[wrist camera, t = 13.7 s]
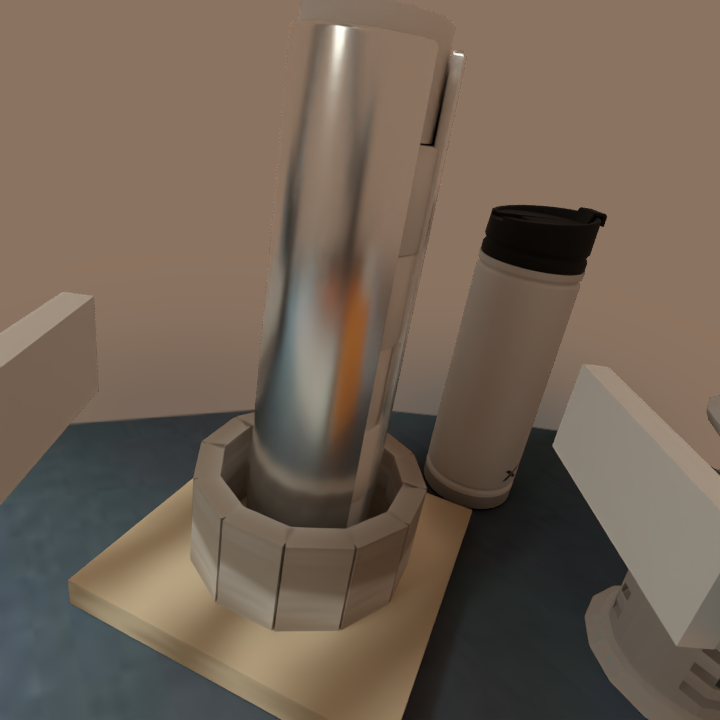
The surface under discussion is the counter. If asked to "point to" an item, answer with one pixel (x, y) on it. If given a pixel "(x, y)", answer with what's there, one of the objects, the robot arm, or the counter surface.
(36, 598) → the counter surface
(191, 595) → the collar
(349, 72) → the metal cylinder
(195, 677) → the counter surface
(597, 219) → the travel mug
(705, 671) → the french press
